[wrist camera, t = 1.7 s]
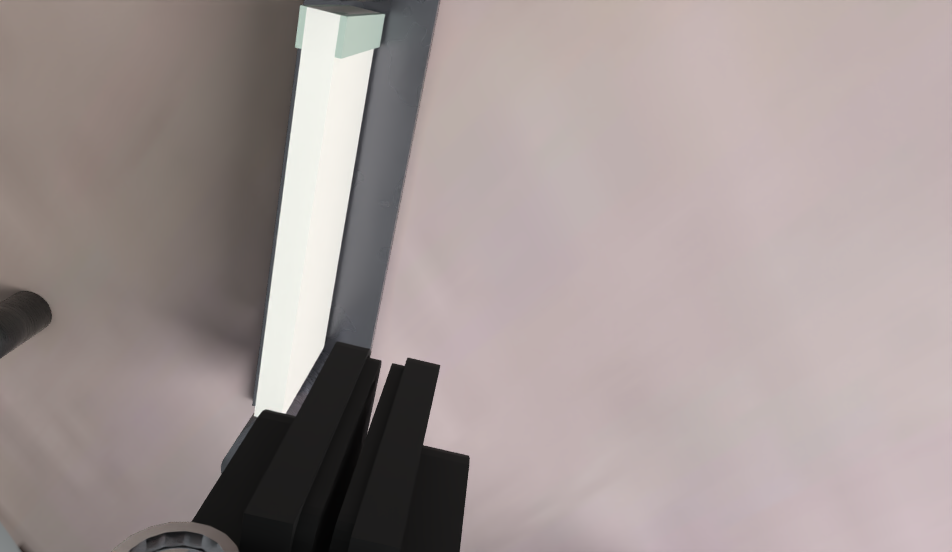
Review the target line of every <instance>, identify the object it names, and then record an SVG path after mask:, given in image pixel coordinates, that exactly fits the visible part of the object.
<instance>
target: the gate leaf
mask: <svg viewBox="0 0 952 552" xmlns="http://www.w3.org/2000/svg"><path fill="white" fill-rule="evenodd" d="M384 18H385V14H383V13H379V12H375V11H371V10H367V9H363V8H359V7H355V6H351V5H300V11H299V19H298V27H297V35H296V43H295V48H299V49H301V57H300V65H299V73H298V80H297V88H296V96H295V103H294V111H293V119H292V127H291V134H290V142H289V150H288V158H287V165H286V173H285V181H284V189H283V196H282V204H281V212H280V219H279V227H278V235H277V243H276V250H275V258H274V266H273V274H272V281H271V289H270V297H269V304H268V312H267V320H266V328H265V335H264V343H263V351H262V359H261V366H260V374H259V382H258V389H257V397H256V405H255V413H254V416H256V417H258V416H259V415H260V413H261V412H262V411H263V410H265V409H267V410H271V411H276V412H280V413H285V414H286V412H287V410H288V409H289V407H290V405H291V404H292V402H293V400H294V398H295V397H296V395H297V393H298V391H299V390H300V388H301V386H302V384H303V383H304V381H305V379H306V377H307V376H308V374H309V372H310V371H311V369H312V367H313V365H314V364H315V362H316V360H317V358H318V357H319V355H320V353H321V351H322V350H323V348H324V344H325V338H326V332H327V326H328V320H329V314H330V308H331V302H332V296H333V290H334V284H335V278H336V272H337V266H338V260H339V254H340V248H341V242H342V236H343V230H344V224H345V219H346V213H347V207H348V201H349V195H350V189H351V183H352V177H353V171H354V165H355V159H356V153H357V147H358V141H359V135H360V129H361V123H362V117H363V111H364V105H365V99H366V93H367V87H368V81H369V75H370V69H371V63H372V57H373V51H374V49H375V48H378V47H380V41H381V36H382V30H383V24H384Z"/></svg>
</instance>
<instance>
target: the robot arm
mask: <svg viewBox="0 0 952 552" xmlns="http://www.w3.org/2000/svg"><path fill="white" fill-rule="evenodd" d="M370 353H371V349H369V348H365V347H360V346H356V345H352V344H347V343H343V342H339V341H337V342H336V343H335V345H334V347H333V349H332V350H331V352H330V354H329V356H328V358H327V360H326V362H325V363H324V365H323V367H322V369H321V371H320V373H319V374H318V376H317V378H316V380H315V382H314V384H313V386H312V387H311V389H310V391H309V393H308V395H307V397H306V399H305V400H304V402H303V404H302V406H301V408H300V410H299V411H298V413H297V415H296V416H293V415H289V414H285V413H280V412H276V411H271V410H267V409H265V410H263V411H262V412H261V413H260V415H259V416H258V417H257V419H256V421H255V422H254V424H253V425H252V427H251V428H250V430H249V432H248V433H247V435H246V436H245V438H244V440H243V441H242V443H241V444H240V446H239V447H238V449H237V451H236V452H235V454H234V455H233V457H232V459H231V460H230V462H229V463H228V465H227V466H226V468H225V470H224V471H223V473H222V474H221V476H220V478H219V479H218V481H217V482H216V484H215V485H214V487H213V489H212V490H211V492H210V493H209V495H208V497H207V498H206V500H205V501H204V503H203V505H202V506H201V508H200V509H199V511H198V512H197V514H196V516H195V517H194V519H193V520H192V522H169V523H165V524H160V525H156V526H151V527H148V528H146V529H144V530H142V531H140V532H138V533H135V534H133V535H131V536H130V537H128V538H127V539H126V540H124V541H123V542H122V543H121V544H119V545H118V546H117V547H115V548H114V549H113V550H112V551H111V552H460V543H461V534H462V525H463V516H464V507H465V498H466V489H467V480H468V471H469V459H470V458H469V456H467V455H463V454H459V453H454V452H450V451H446V450H441V449H437V448H432V447H428V446H424V445H423V442H424V437H425V433H426V428H427V424H428V419H429V415H430V410H431V406H432V401H433V396H434V392H435V387H436V383H437V378H438V374H439V369H440V365H437V364H433V363H429V362H424V361H420V360H416V359H412V358H407V361H406V364H405V366H402V365H398V364H394V363H392V366H391V368H390V371H389V374H388V377H387V380H386V383H385V385H384V388H383V391H382V394H381V397H380V400H379V402H378V405H377V408H376V411H375V414H374V416H373V419H372V422H371V425H370V428H369V431H368V427H369V422H370V417H371V412H372V407H373V402H374V397H375V392H376V387H377V383H378V378H379V373H380V368H381V360H376V359H372V358H370ZM367 431H368V433H367Z"/></svg>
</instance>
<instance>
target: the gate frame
mask: <svg viewBox="0 0 952 552" xmlns="http://www.w3.org/2000/svg"><path fill="white" fill-rule="evenodd" d="M439 4H440V0H304V4H303V5H351V6H355V7H359V8H363V9H367V10H371V11H375V12H379V13H383V14H385V18H384V24H383V30H382V36H381V41H380V47H378V48H375V49H374V51H373V57H372V63H371V69H370V75H369V81H368V87H367V93H366V99H365V105H364V111H363V117H362V123H361V129H360V135H359V141H358V147H357V153H356V159H355V165H354V171H353V177H352V183H351V189H350V195H349V201H348V207H347V213H346V219H345V224H344V230H343V236H342V242H341V248H340V254H339V260H338V266H337V272H336V278H335V284H334V290H333V296H332V302H331V308H330V314H329V320H328V326H327V332H326V338H325V344H324V348H323V350H322V351H321V353H320V355H319V357H318V358H317V360H316V362H315V364H314V365H313V367H312V369H311V371H310V372H309V374H308V376H307V377H306V379H305V381H304V383H303V384H302V386H301V388H300V390H299V391H298V393H297V395H296V397H295V398H294V400H293V402H292V404H291V405H290V407H289V409H288V410H287V412H286V414H289V415H293V416H296V415H297V413H298V411H299V410H300V408H301V406H302V404H303V402H304V400H305V399H306V397H307V395H308V393H309V391H310V389H311V387H312V386H313V384H314V382H315V380H316V378H317V376H318V374H319V373H320V371H321V369H322V367H323V365H324V363H325V362H326V360H327V358H328V356H329V354H330V352H331V350H332V349H333V347H334V345H335V343H336V342H337V341H339V342H343V343H347V344H352V345H356V346H360V347H365V348H369V349H371V350H372V344H373V339H374V334H375V329H376V324H377V319H378V314H379V309H380V304H381V299H382V294H383V289H384V284H385V278H386V273H387V268H388V263H389V258H390V253H391V248H392V243H393V238H394V233H395V228H396V223H397V218H398V212H399V207H400V202H401V197H402V192H403V187H404V182H405V177H406V172H407V167H408V162H409V157H410V152H411V146H412V141H413V136H414V131H415V126H416V121H417V116H418V111H419V106H420V101H421V96H422V91H423V86H424V81H425V75H426V70H427V65H428V60H429V55H430V50H431V45H432V40H433V35H434V30H435V25H436V20H437V15H438V9H439ZM300 57H301V49H299V48H298V51H297V59H296V66H295V74H294V82H293V90H292V98H291V106H290V114H289V121H288V129H287V137H286V145H285V153H284V161H283V169H282V176H281V184H280V192H279V200H278V208H277V216H276V223H275V231H274V239H273V247H272V255H271V263H270V271H269V278H268V286H267V294H266V302H265V310H264V318H263V326H262V333H261V341H260V349H259V357H258V365H257V373H256V380H255V388H254V396H253V404H252V406H255V405H256V397H257V389H258V382H259V374H260V366H261V359H262V351H263V343H264V335H265V328H266V320H267V312H268V304H269V297H270V289H271V281H272V274H273V266H274V258H275V250H276V243H277V235H278V227H279V219H280V212H281V204H282V196H283V189H284V181H285V173H286V165H287V158H288V150H289V142H290V134H291V127H292V119H293V111H294V103H295V96H296V88H297V80H298V73H299V65H300ZM51 318H52V313H51V310H50V307H49V305H48V304H47V302H46V301H45V300H44V299H43V298H42V297H40V296H39V295H37V294H35V293H32V292H27V291H23V292H19V293H16V294H15V295H13V296H11V297H9V298H8V299H6V300H4V301H2V302H1V303H0V358H2V357H3V356H5V355H6V354H8V353H9V352H11V351H12V350H14V349H15V348H16V347H18V346H19V345H21V344H22V343H24V342H25V341H27V340H28V339H30V338H31V337H33V336H34V335H36V334H37V333H39V332H40V331H41V330H43V329H44V328H46V327H47V326H48V325H49V324H50V322H51ZM370 355H371V353H370ZM254 413H255V412H254ZM256 419H257V417H256V416H254V414H253V415H252V417H251V418H250V420H249V421H248V423H247V424H246V426H245V427H244V429H243V430H242V432H241V434H240V435H239V437H238V438H237V440H236V441H235V443H234V444H233V446H232V447H231V449H230V450H229V452H228V453H227V455H226V456H225V458H224V460H223V461H222V464H221V473H223V471H224V470H225V468H226V466H227V465H228V463H229V462H230V460H231V459H232V457H233V455H234V454H235V452H236V451H237V449H238V447H239V446H240V444H241V443H242V441H243V440H244V438H245V436H246V435H247V433H248V432H249V430H250V428H251V427H252V425H253V424H254V422H255V421H256Z"/></svg>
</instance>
